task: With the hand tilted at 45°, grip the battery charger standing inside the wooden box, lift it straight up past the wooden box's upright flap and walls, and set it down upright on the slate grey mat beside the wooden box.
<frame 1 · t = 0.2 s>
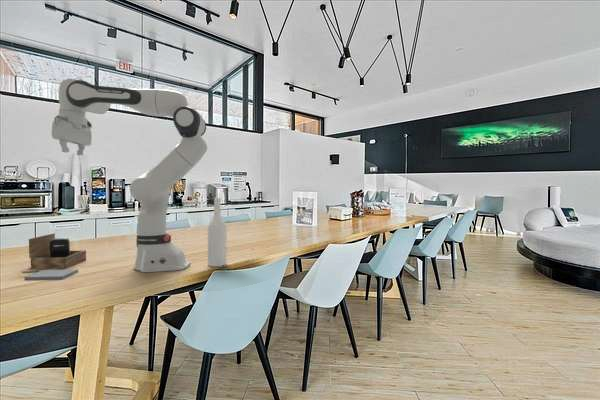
hand: (73, 153, 129), 48 cm above the table, tool pointing down, fingers open, 8 cm apart
battery charger: (60, 264, 137), resting in wooden box
wooden box: (60, 264, 137), on the table
bottle: (217, 265, 140), on the table
mat: (52, 275, 120), on the table
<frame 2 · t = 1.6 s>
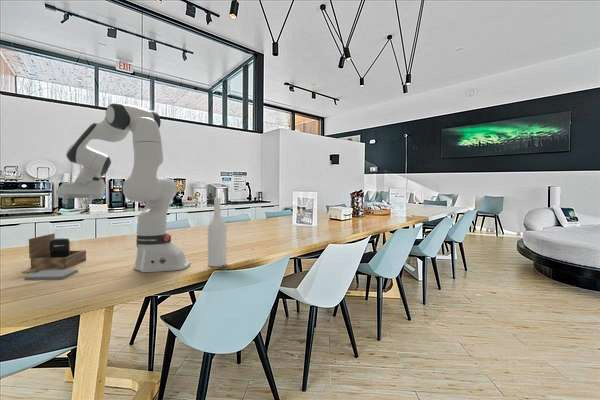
hand: (75, 203, 147), 26 cm above the table, tool tilted 45°, fingers open, 8 cm apart
nothing on the table moved.
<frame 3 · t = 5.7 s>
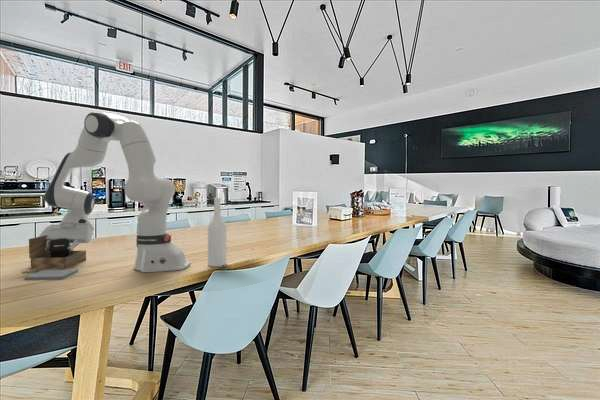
hand: (58, 250, 136), 6 cm above the table, tool tilted 45°, fingers closed on battery charger, 7 cm apart
battery charger: (60, 264, 137), resting in wooden box, touching gripper
everything else where it was.
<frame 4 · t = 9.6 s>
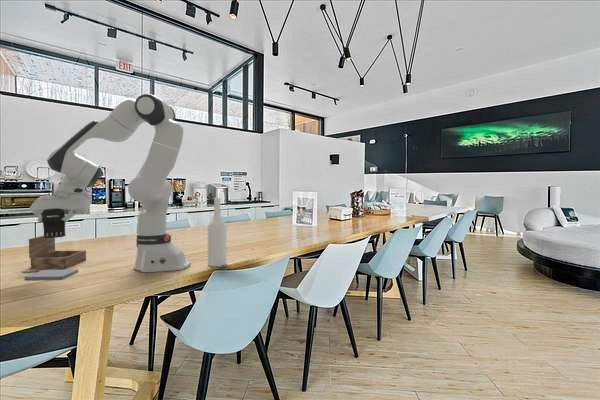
hand: (52, 221, 121), 21 cm above the table, tool tilted 45°, fingers closed on battery charger, 7 cm apart
battery charger: (54, 238, 122), point 14 cm above the table, touching gripper
everything else where it was.
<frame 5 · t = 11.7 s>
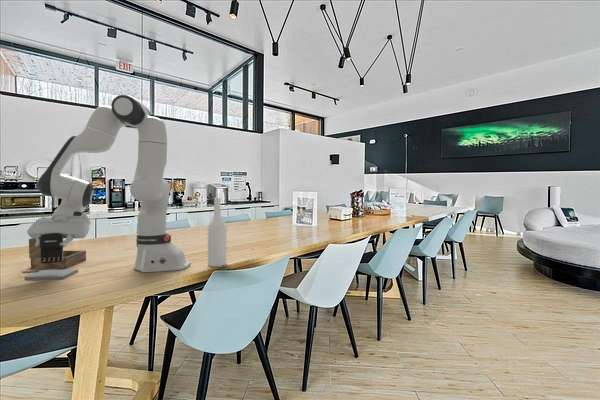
hand: (50, 246, 119), 12 cm above the table, tool tilted 45°, fingers closed on battery charger, 7 cm apart
battery charger: (51, 263, 120), point 5 cm above the table, touching gripper
everything else where it was.
when the fingers open (9 cm above the table, at t = 13.3 s): battery charger drops 1 cm, resting on mat.
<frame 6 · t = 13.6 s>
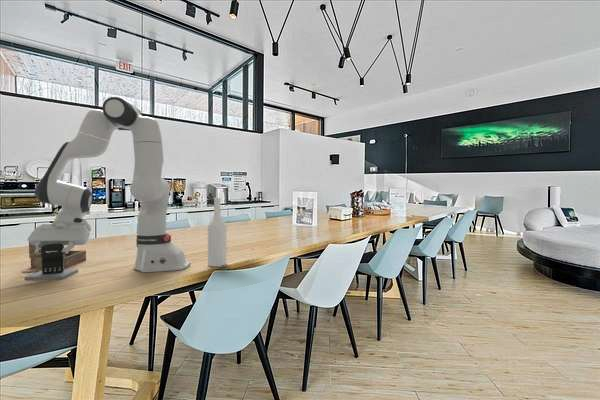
hand: (50, 253, 119), 9 cm above the table, tool tilted 45°, fingers open, 8 cm apart
battery charger: (52, 273, 120), point 1 cm above the table, touching mat
everything else where it was.
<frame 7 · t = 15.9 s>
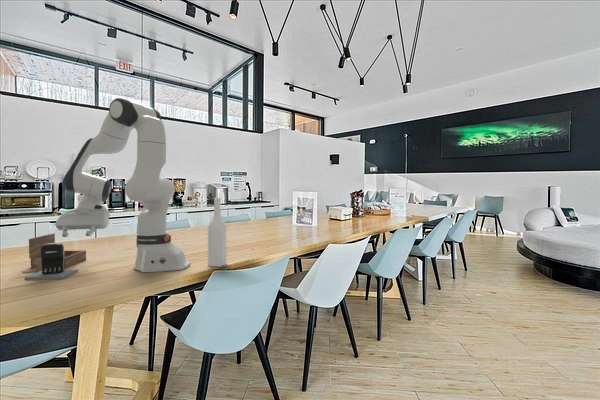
hand: (76, 235, 134), 13 cm above the table, tool tilted 45°, fingers open, 8 cm apart
nothing on the table moved.
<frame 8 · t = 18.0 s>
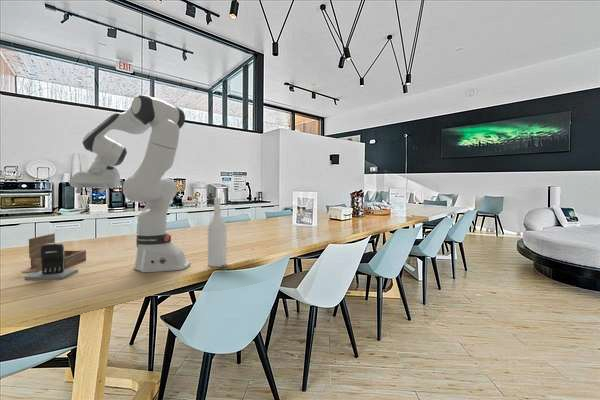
hand: (88, 192, 143), 31 cm above the table, tool tilted 45°, fingers open, 8 cm apart
nothing on the table moved.
at the end: battery charger inside the target area on the mat (0.2 cm from its centre), point 0.8 cm above the mat's base; battery charger tilted 0°; the gripper is holding nothing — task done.
